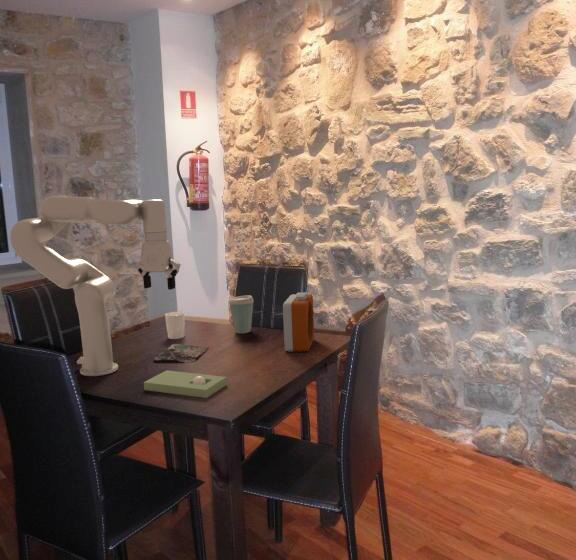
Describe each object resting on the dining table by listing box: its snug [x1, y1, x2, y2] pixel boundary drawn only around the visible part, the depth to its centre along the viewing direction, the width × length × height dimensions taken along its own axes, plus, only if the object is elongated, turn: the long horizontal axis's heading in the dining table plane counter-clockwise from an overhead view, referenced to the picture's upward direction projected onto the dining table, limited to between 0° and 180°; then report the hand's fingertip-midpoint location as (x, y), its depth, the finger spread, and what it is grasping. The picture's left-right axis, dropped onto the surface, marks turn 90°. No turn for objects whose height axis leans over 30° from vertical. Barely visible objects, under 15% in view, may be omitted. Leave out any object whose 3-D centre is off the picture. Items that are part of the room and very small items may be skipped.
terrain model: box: [152, 343, 209, 364], centre depth 218 cm, size 20×15×3 cm
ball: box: [193, 376, 206, 385], centre depth 179 cm, size 4×4×4 cm
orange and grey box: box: [282, 292, 315, 353], centre depth 221 cm, size 18×9×21 cm, turn 170°
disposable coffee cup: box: [228, 295, 255, 334], centre depth 247 cm, size 11×11×15 cm
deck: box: [143, 369, 228, 399], centre depth 182 cm, size 22×12×2 cm, turn 66°
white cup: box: [164, 311, 186, 340], centre depth 243 cm, size 8×8×10 cm
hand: (159, 288), depth 196 cm, fingers open, 9 cm apart
